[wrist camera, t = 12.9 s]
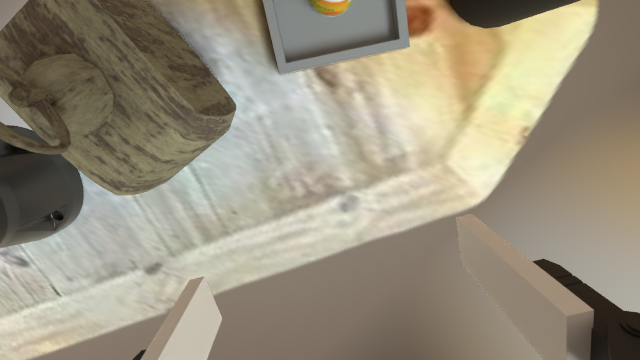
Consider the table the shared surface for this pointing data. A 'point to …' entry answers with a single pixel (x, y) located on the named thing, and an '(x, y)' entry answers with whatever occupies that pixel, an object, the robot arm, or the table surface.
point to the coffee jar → (503, 10)
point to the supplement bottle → (330, 6)
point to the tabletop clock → (109, 91)
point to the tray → (334, 32)
